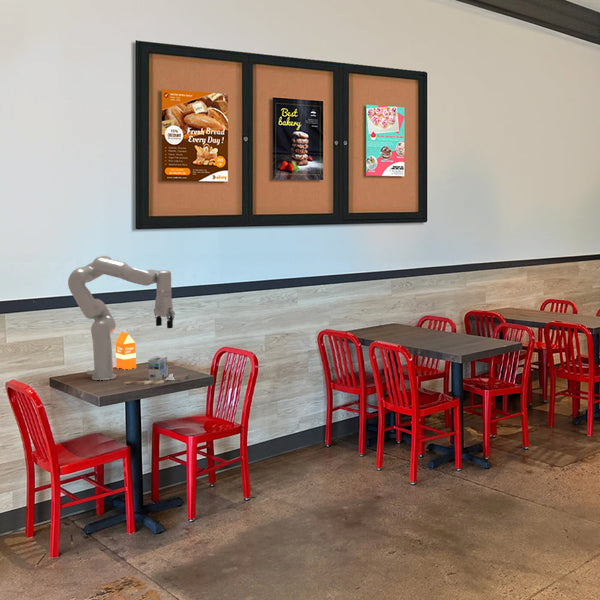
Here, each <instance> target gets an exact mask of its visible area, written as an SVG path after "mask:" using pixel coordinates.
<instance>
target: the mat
mask: <svg viewBox="0 0 600 600" xmlns="http://www.w3.org/2000/svg"><path fill="white" fill-rule="evenodd" d="M173 374H174V373H170V374H168V376H167V377H166V378H164V380H175V379H174V377H173Z"/></svg>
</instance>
